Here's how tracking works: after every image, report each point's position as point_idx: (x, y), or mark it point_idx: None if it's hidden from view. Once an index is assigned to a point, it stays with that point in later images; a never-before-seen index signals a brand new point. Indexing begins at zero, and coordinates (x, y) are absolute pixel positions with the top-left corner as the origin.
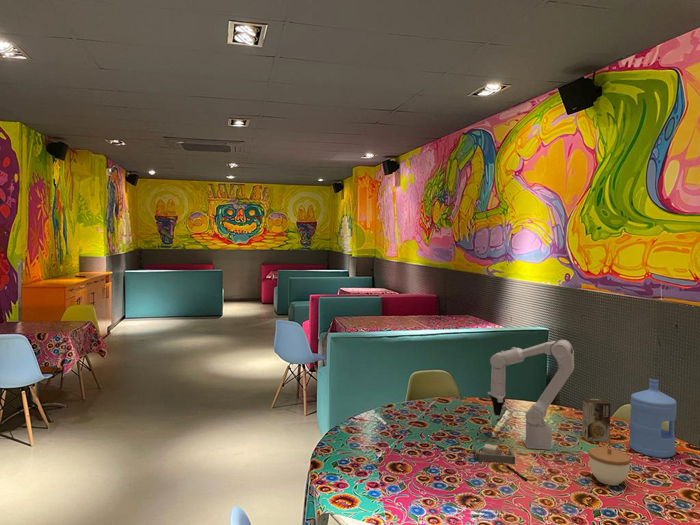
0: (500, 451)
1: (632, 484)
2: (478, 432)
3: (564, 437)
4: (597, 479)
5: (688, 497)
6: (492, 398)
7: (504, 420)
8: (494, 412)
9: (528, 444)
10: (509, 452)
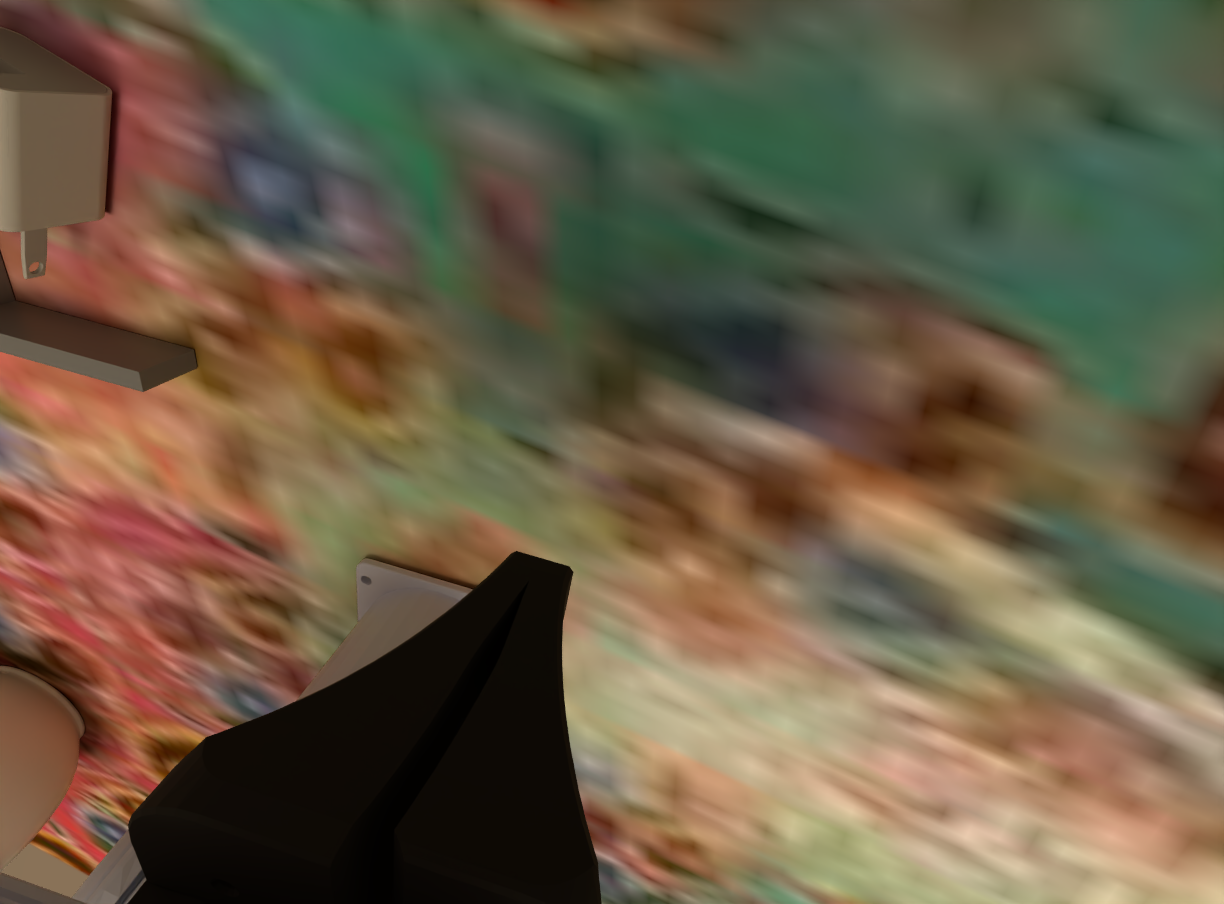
0: (22, 243)
1: None
2: (815, 253)
3: (624, 867)
4: (14, 669)
5: None
6: (218, 851)
7: (1168, 727)
8: (490, 576)
9: (390, 596)
10: (118, 347)
